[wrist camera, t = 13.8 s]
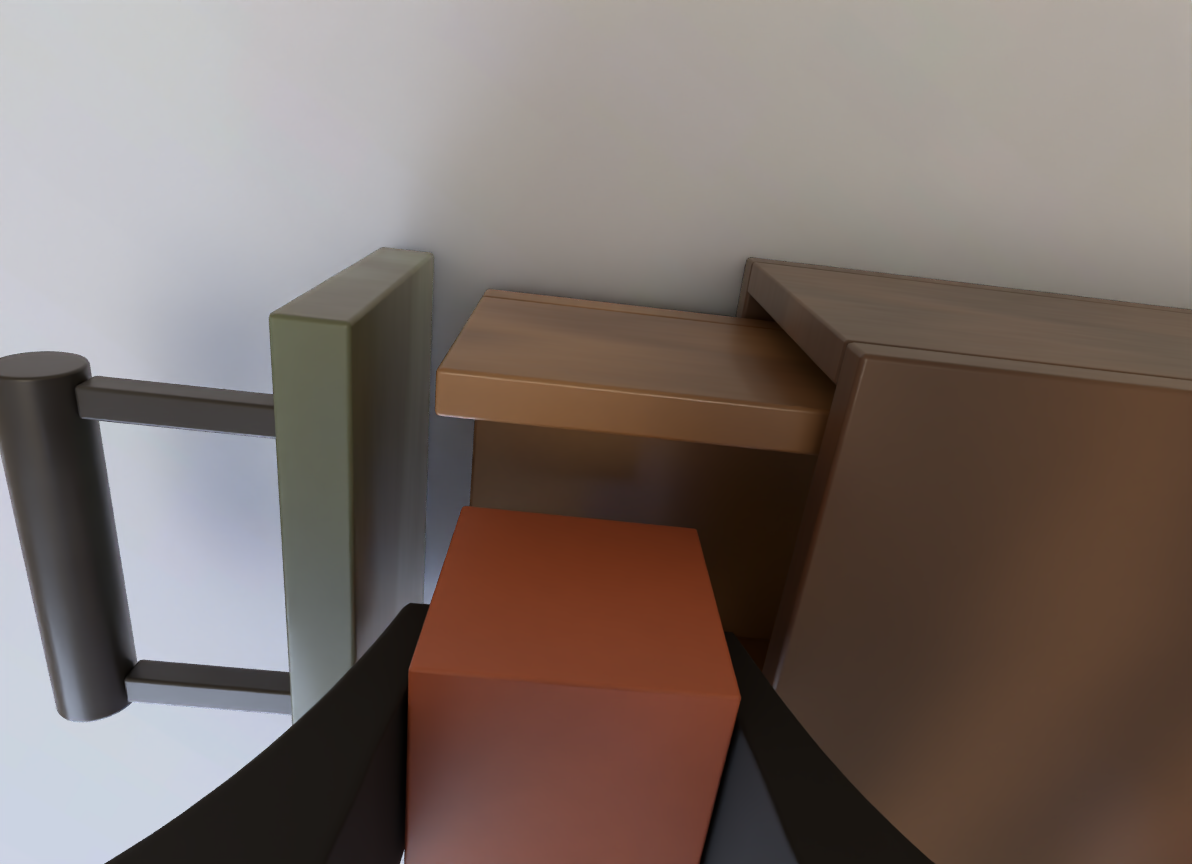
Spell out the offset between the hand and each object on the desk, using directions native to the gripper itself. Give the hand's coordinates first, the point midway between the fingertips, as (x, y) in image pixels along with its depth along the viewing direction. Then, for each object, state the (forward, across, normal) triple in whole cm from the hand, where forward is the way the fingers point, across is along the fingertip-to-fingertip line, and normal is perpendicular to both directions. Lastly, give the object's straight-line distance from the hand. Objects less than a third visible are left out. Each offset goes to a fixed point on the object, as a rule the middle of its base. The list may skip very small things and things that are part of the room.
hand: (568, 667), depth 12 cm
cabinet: (+8, -10, 0) cm, 12 cm away
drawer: (+7, +2, 0) cm, 7 cm away
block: (+1, 0, 0) cm, 1 cm away
